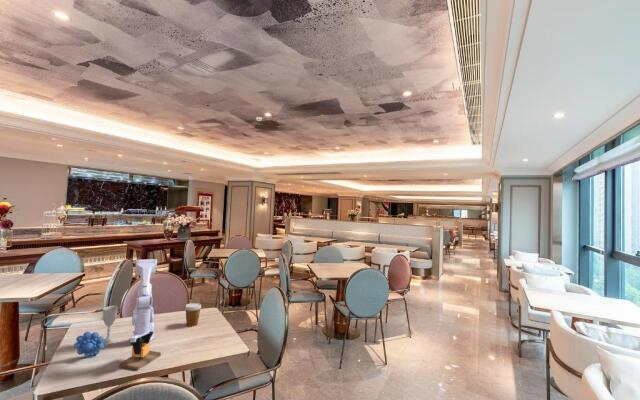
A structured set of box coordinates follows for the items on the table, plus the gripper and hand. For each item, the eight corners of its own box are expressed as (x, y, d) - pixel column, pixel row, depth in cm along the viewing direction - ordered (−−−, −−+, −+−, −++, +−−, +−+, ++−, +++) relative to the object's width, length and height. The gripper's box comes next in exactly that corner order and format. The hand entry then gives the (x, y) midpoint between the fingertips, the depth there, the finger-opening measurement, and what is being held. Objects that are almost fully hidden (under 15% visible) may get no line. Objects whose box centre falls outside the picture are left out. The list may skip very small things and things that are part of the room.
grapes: (71, 364, 134) (73, 337, 135) (73, 357, 140) (74, 331, 140) (103, 357, 141) (105, 332, 141) (103, 351, 147) (105, 327, 147)
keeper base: (143, 352, 147) (143, 341, 147) (160, 355, 145) (161, 344, 145) (118, 367, 134) (119, 354, 134) (137, 370, 132) (138, 358, 132)
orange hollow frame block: (138, 351, 142) (139, 342, 142) (149, 351, 142) (149, 343, 142) (131, 356, 137) (132, 347, 137) (142, 357, 137) (143, 348, 137)
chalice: (107, 346, 152) (109, 311, 152) (96, 344, 153) (98, 309, 154) (119, 340, 159) (121, 306, 160) (108, 338, 160) (111, 305, 161)
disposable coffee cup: (184, 322, 187) (185, 303, 188) (201, 321, 190) (202, 302, 191) (182, 328, 178) (183, 308, 179) (199, 327, 181) (200, 307, 182)
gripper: (143, 315, 147) (141, 343, 147) (124, 327, 133) (122, 358, 132) (157, 316, 147) (156, 344, 147) (140, 328, 133) (138, 359, 132)
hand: (141, 351), depth 140 cm, fingers closed on orange hollow frame block, 5 cm apart
